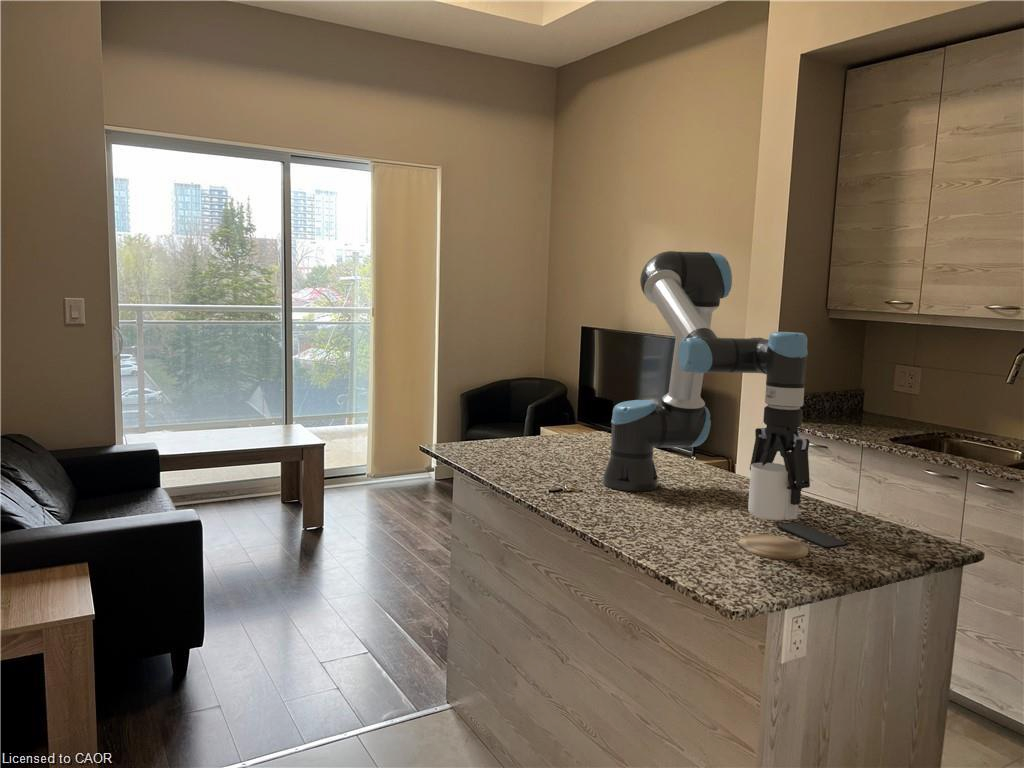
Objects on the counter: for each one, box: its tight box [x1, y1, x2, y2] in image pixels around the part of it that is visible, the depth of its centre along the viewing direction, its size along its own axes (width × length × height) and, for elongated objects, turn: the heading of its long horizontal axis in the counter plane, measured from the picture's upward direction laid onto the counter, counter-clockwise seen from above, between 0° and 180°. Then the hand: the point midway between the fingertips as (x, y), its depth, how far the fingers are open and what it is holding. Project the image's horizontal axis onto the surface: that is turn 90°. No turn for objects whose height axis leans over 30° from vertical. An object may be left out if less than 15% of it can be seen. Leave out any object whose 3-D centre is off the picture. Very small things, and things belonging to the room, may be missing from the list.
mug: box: [747, 462, 796, 521], centre depth 156 cm, size 12×8×10 cm
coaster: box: [738, 533, 809, 561], centre depth 157 cm, size 14×14×1 cm
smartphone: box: [776, 522, 849, 549], centre depth 166 cm, size 7×1×15 cm
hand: (775, 512), depth 156 cm, fingers closed on mug, 8 cm apart
